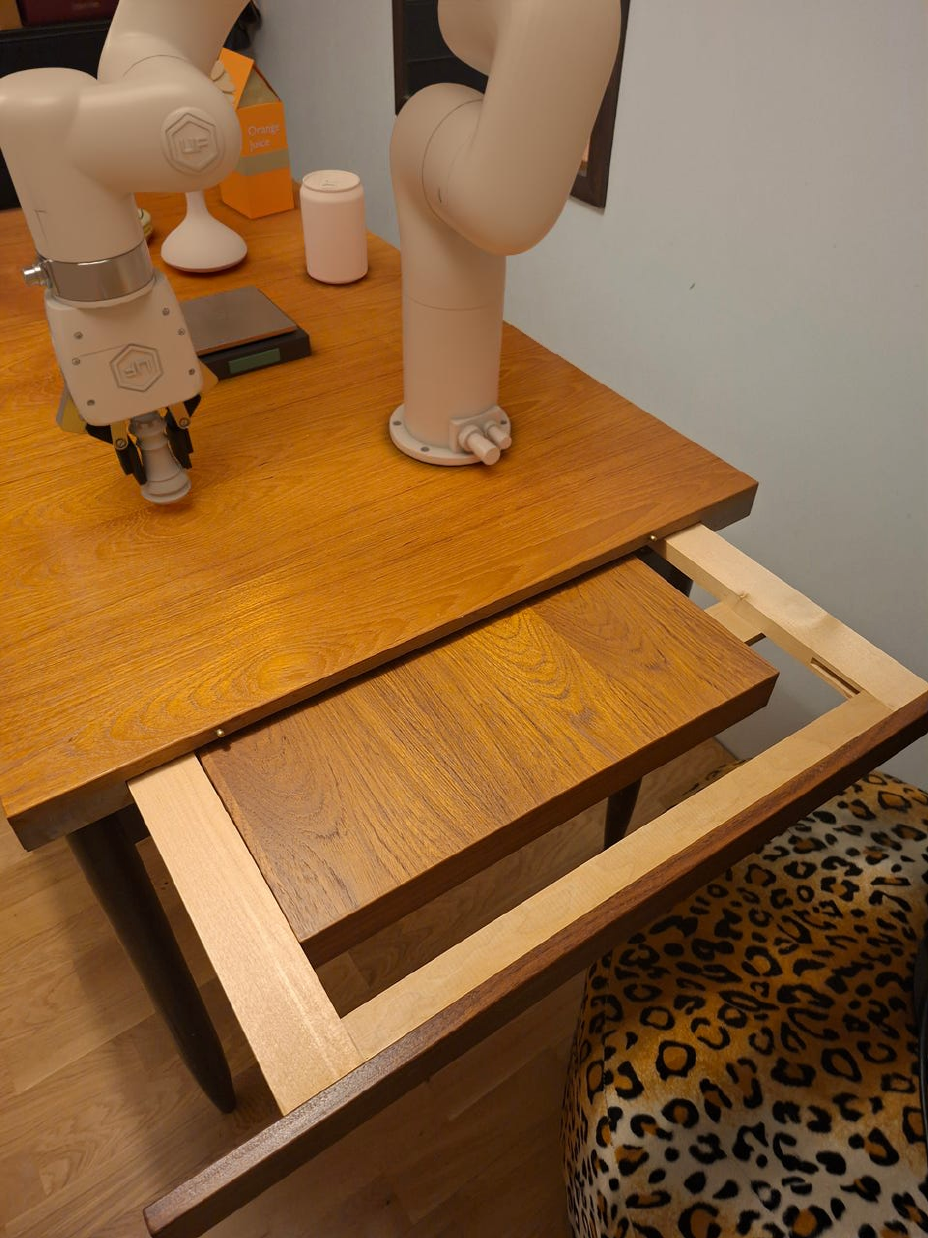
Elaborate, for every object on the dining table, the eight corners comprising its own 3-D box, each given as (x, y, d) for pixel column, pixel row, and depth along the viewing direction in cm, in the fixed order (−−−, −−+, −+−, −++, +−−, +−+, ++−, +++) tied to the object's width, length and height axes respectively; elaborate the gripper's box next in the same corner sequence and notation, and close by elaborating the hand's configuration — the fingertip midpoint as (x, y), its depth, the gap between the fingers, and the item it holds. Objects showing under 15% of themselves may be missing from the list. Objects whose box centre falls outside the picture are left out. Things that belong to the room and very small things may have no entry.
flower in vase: (187, 288, 113) (143, 65, 95) (148, 258, 119) (100, 44, 101) (275, 264, 119) (249, 50, 101) (234, 237, 125) (202, 31, 107)
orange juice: (265, 191, 138) (246, 43, 124) (295, 208, 133) (279, 56, 119) (221, 201, 134) (196, 50, 120) (250, 219, 129) (228, 64, 115)
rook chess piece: (196, 476, 81) (176, 401, 75) (187, 506, 78) (165, 430, 72) (148, 476, 81) (124, 402, 75) (137, 507, 78) (111, 431, 72)
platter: (297, 330, 99) (296, 324, 99) (197, 356, 95) (196, 350, 94) (254, 290, 106) (253, 284, 106) (158, 312, 101) (157, 307, 101)
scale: (312, 355, 101) (310, 335, 99) (197, 387, 95) (193, 367, 94) (261, 307, 109) (258, 288, 108) (152, 334, 104) (148, 314, 102)
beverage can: (372, 263, 120) (368, 170, 111) (362, 289, 114) (357, 193, 105) (315, 259, 120) (306, 166, 112) (301, 284, 114) (291, 188, 106)
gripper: (-5, 316, 59) (81, 524, 72) (223, 258, 65) (263, 459, 79) (-30, 275, 63) (55, 479, 76) (186, 224, 70) (230, 420, 83)
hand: (160, 467), depth 77 cm, fingers closed on rook chess piece, 3 cm apart
